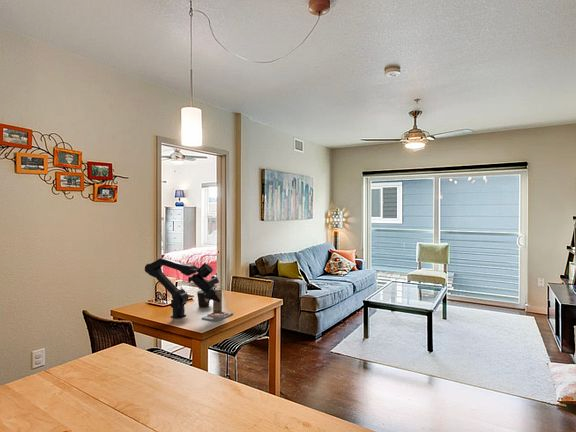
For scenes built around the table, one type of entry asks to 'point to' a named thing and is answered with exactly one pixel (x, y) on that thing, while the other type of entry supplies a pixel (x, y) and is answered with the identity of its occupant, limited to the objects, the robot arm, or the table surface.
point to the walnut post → (217, 305)
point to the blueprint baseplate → (217, 316)
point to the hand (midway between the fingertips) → (219, 300)
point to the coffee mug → (202, 300)
